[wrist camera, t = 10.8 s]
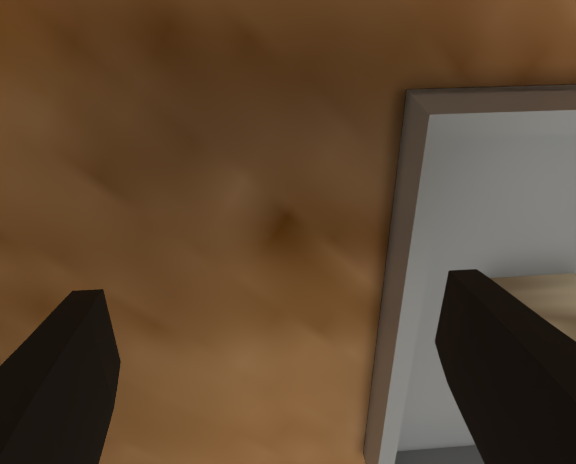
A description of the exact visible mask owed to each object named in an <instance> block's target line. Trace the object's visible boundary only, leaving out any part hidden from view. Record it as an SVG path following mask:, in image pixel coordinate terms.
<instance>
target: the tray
mask: <svg viewBox="0 0 576 464" xmlns="http://www.w3.org/2000/svg"><path fill="white" fill-rule="evenodd" d="M468 269H477V270H479V271H480V272H482V273H483V274H485V275H486V276H487V277H489V278H498V277H516V276H533V275H550V274H568V273H575V274H576V84H575V85H541V86H507V87H472V88H438V89H407V91H406V99H405V108H404V116H403V124H402V133H401V141H400V150H399V158H398V166H397V175H396V183H395V192H394V200H393V208H392V217H391V225H390V233H389V242H388V250H387V259H386V267H385V275H384V284H383V292H382V300H381V309H380V317H379V326H378V334H377V342H376V351H375V359H374V368H373V376H372V384H371V393H370V401H369V409H368V418H367V426H366V435H365V443H364V451H363V454H364V458H365V463H366V464H484V462H483V460H482V457H481V455H480V453H479V451H478V449H477V447H476V445H475V442H474V440H473V438H472V436H471V434H470V432H469V430H468V427H467V425H466V423H465V421H464V419H463V417H462V414H461V412H460V410H459V408H458V406H457V404H456V401H455V399H454V397H453V395H452V392H451V390H450V388H449V386H448V383H447V380H446V377H445V374H444V371H443V368H442V365H441V362H440V358H439V355H438V351H437V348H436V345H435V337H436V332H437V327H438V322H439V317H440V312H441V307H442V302H443V297H444V292H445V287H446V282H447V277H448V272H449V271H450V270H468Z"/></svg>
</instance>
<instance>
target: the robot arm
mask: <svg viewBox="0 0 576 464" xmlns="http://www.w3.org/2000/svg"><path fill="white" fill-rule="evenodd" d="M435 345H436V348H437V351H438V355H439V358H440V362H441V365H442V368H443V371H444V374H445V377H446V380H447V383H448V386H449V388H450V390H451V392H452V395H453V397H454V399H455V401H456V404H457V406H458V408H459V410H460V412H461V414H462V417H463V419H464V421H465V423H466V425H467V427H468V430H469V432H470V434H471V436H472V438H473V440H474V442H475V445H476V447H477V449H478V451H479V453H480V455H481V457H482V460H483V462H484V464H576V341H575V340H573V339H572V338H570V337H569V336H567V335H566V334H565V333H563V332H562V331H560V330H559V329H557V328H556V327H555V326H553V325H552V324H551V323H549V322H548V321H546V320H545V319H544V318H542V317H541V316H540V315H538V314H537V313H536V312H534V311H533V310H532V309H530V308H529V307H528V306H526V305H525V304H524V303H522V302H521V301H520V300H518V299H517V298H516V297H514V296H513V295H512V294H510V293H509V292H508V291H506V290H505V289H504V288H502V287H501V286H500V285H498V284H497V283H496V282H494V281H493V280H492V279H490V278H489V277H487V276H486V275H485V274H483V273H482V272H480V271H479V270H477V269H468V270H450V271H449V272H448V277H447V282H446V287H445V292H444V297H443V302H442V307H441V312H440V317H439V322H438V327H437V332H436V337H435ZM119 369H120V357H119V353H118V349H117V345H116V341H115V337H114V333H113V329H112V324H111V320H110V316H109V312H108V308H107V304H106V300H105V295H104V291H103V289H101V290H82V291H72V292H71V293H70V294H69V295H68V296H67V297H66V298H65V299H64V300H63V301H62V302H61V303H60V304H59V305H58V306H57V308H56V309H55V310H54V311H53V312H52V313H51V314H50V315H49V316H48V317H47V318H46V319H45V320H44V321H43V322H42V323H41V325H40V326H39V327H38V328H37V329H36V330H35V331H34V332H33V333H32V334H31V335H30V336H29V337H28V338H27V339H26V340H25V341H24V342H23V343H22V344H21V345H20V346H19V347H18V348H17V350H16V351H15V352H14V353H13V354H12V355H11V356H10V357H9V358H8V359H7V360H6V361H5V362H4V363H3V364H2V365H1V366H0V464H98V463H99V460H100V456H101V453H102V449H103V446H104V442H105V438H106V435H107V431H108V428H109V424H110V420H111V416H112V413H113V409H114V403H115V397H116V391H117V384H118V377H119Z"/></svg>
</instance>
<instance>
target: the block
mask: <svg viewBox="0 0 576 464" xmlns="http://www.w3.org/2000/svg"><path fill="white" fill-rule="evenodd" d="M490 279H492V280H493V281H494V282H496V283H497V284H498V285H500V286H501V287H502V288H504V289H505V290H506V291H508V292H509V293H510V294H512V295H513V296H514V297H516V298H517V299H518V300H520V301H521V302H522V303H524V304H525V305H526V306H528V307H529V308H530V309H532V310H533V311H534V312H536V313H537V314H538V315H540V316H541V317H542V318H544V319H545V320H546V321H548V322H549V323H551V324H552V325H553V326H555V327H556V328H557V329H559V330H560V331H562V332H563V333H565V334H566V335H567V336H569V337H570V338H572V339H573V340H575V341H576V274H575V273H568V274H550V275H533V276H516V277H498V278H490Z"/></svg>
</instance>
